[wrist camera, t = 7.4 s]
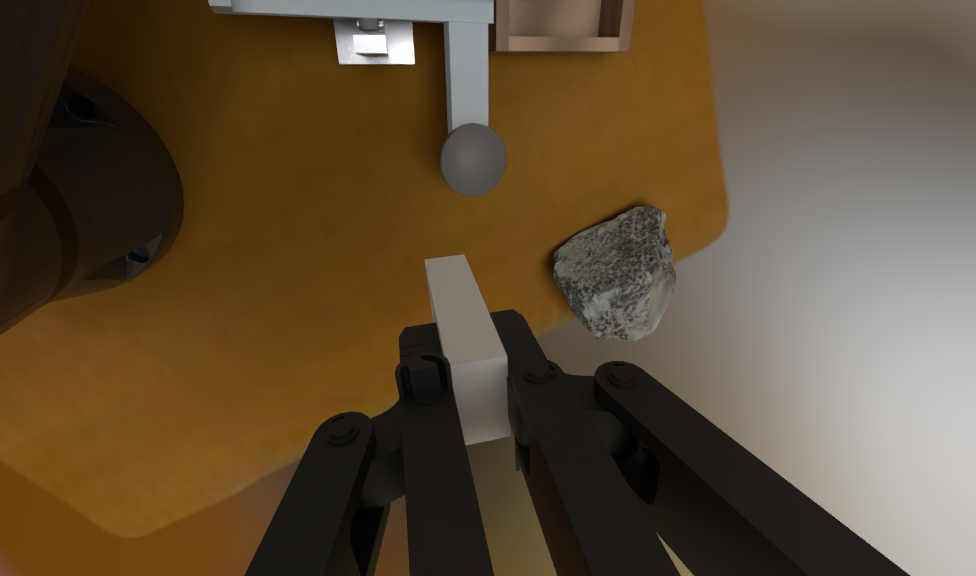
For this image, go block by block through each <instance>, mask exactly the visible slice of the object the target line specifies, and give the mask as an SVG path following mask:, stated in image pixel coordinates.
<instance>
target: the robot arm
mask: <svg viewBox="0 0 976 576" xmlns="http://www.w3.org/2000/svg"><path fill="white" fill-rule="evenodd" d="M91 2H92V0H0V335H1V334H2V333H4V332H5V331H7V330H8V329H10V328H11V327H12V326H14V325H15V324H17V323H18V322H20V321H21V320H23V319H24V318H26V317H27V316H29V315H30V314H31V313H33V312H34V311H36V310H37V309H39V308H40V307H42V306H43V305H45V304H46V303H49V302H54V301H58V300H63V299H67V298H72V297H76V296H81V295H85V294H90V293H95V292H99V291H103V290H107V289H110V288H113V287H116V286H119V285H121V284H123V283H125V282H127V281H129V280H131V279H133V278H135V277H137V276H138V275H140V274H141V273H142V272H144V271H145V270H146V269H148V268H149V267H150V266H151V265H153V264H154V263H155V262H156V261H158V260H159V259H160V258H161V257H162V256H163V255H164V254H165V253H166V252H167V251H168V249H169V248H170V247H171V245H172V244H173V242H174V240H175V238H176V236H177V234H178V231H179V229H180V225H181V221H182V215H183V195H182V188H181V183H180V180H179V176H178V173H177V170H176V168H175V165H174V163H173V161H172V159H171V157H170V155H169V153H168V151H167V149H166V148H165V146H164V145H163V143H162V142H161V140H160V139H159V137H158V136H157V134H156V133H155V132H154V131H153V129H152V128H151V127H150V126H149V125H148V123H147V122H146V121H145V120H144V119H143V118H142V117H141V116H140V115H139V114H138V113H137V112H136V111H135V110H134V109H133V108H132V107H131V106H129V105H128V104H127V103H126V102H125V101H123V100H122V99H121V98H120V97H118V96H117V95H116V94H114V93H113V92H111V91H110V90H109V89H107V88H105V87H104V86H102V85H101V84H99V83H97V82H96V81H94V80H92V79H90V78H89V77H87V76H85V75H83V74H81V73H79V72H76V71H74V70H72V69H69V68H68V67H69V64H70V61H71V58H72V55H73V53H74V50H75V47H76V44H77V41H78V38H79V36H80V33H81V30H82V27H83V24H84V21H85V19H86V16H87V13H88V10H89V7H90V4H91ZM425 267H426V275H427V282H428V289H429V297H430V304H431V311H432V319H433V323H430V324H424V325H418V326H412V327H406V328H404V330H403V332H402V333H401V335H400V337H399V348H400V363H399V365H398V366H397V367H396V371H395V377H396V382H397V387H398V392H399V397H400V398H399V400H398V401H397V402H396V404H395V405H394V406H393V407H391V408H390V409H389V410H387V411H386V412H384V413H382V414H380V415H378V416H376V417H373V418H371V419H370V418H369V417H368V416H366V415H364V414H363V413H359V412H346V413H340V414H338V415H336V416H333V417H331V418H329V419H328V420H326V421H325V422H324V423H322V424H321V425H320V426H319V428H318V429H317V430H316V432H315V433H314V435H313V437H312V439H311V441H310V443H309V445H308V447H307V449H306V451H305V453H304V455H303V457H302V459H301V462H300V464H299V466H298V468H297V470H296V472H295V474H294V476H293V478H292V480H291V482H290V484H289V486H288V488H287V490H286V492H285V494H284V496H283V498H282V500H281V502H280V504H279V506H278V508H277V511H276V512H275V514H274V517H273V518H272V521H271V523H270V525H269V527H268V529H267V531H266V533H265V535H264V537H263V539H262V541H261V543H260V545H259V547H258V549H257V551H256V553H255V555H254V557H253V559H252V561H251V563H250V565H249V567H248V569H247V571H246V574H245V575H244V576H374V573H375V569H376V564H377V561H378V557H379V553H380V548H381V544H382V540H383V536H384V532H385V528H386V524H387V520H388V516H389V512H390V507H391V506H390V505H391V502H392V501H394V500H396V499H398V498H400V497H401V496H403V495H405V497H406V513H407V514H406V515H407V532H408V550H409V568H410V576H494V573H493V569H492V564H491V559H490V555H489V550H488V546H487V541H486V537H485V532H484V528H483V523H482V518H481V515H480V509H479V505H478V500H477V495H476V491H475V486H474V482H473V477H472V473H471V468H470V464H469V459H468V455H467V450H466V445H470V444H475V443H479V442H484V441H489V440H494V439H498V438H503V437H508V436H511V434H510V433H511V432H510V424H511V427H512V430H513V433H514V436H515V461H516V471H519V470H520V466H521V469H522V472H523V475H524V478H525V481H526V484H527V487H528V490H529V493H530V496H531V499H532V502H533V505H534V508H535V511H536V514H537V517H538V520H539V523H540V525H541V528H542V532H543V535H544V537H545V540H546V544H547V546H548V549H549V553H550V555H551V558H552V561H553V564H554V567H555V570H556V573H557V576H681V575H680V574H679V572H678V570H677V569H676V567H675V565H674V563H673V561H672V560H671V558H670V556H669V554H668V553H667V551H666V549H665V548H664V546H663V544H662V542H661V541H660V539H659V537H658V535H659V536H660V537H661V538H662V539H663V541H664V542H665V543H666V544H667V545H668V546H669V547H670V548H671V550H672V551H673V552H674V553H675V554H676V555H677V557H678V558H679V559H680V560H681V561H682V562H683V564H684V565H685V566H686V567H687V568H688V569H689V570H690V572H691V573H692V574H693V575H694V576H910V575H909V574H907V573H906V572H905V571H903V570H902V569H901V568H900V567H898V566H897V565H896V564H894V563H893V562H892V561H890V560H889V559H888V558H886V557H885V556H884V555H883V554H881V553H880V552H879V551H877V550H876V549H875V548H873V547H872V546H871V545H870V544H868V543H867V542H866V541H865V540H863V539H862V538H860V537H859V536H858V535H857V534H855V533H854V532H853V531H851V530H850V529H849V528H848V527H846V526H845V525H844V524H842V523H841V522H840V521H839V520H837V519H836V518H835V517H833V516H832V515H831V514H829V513H828V512H827V511H825V510H824V509H823V508H822V507H820V506H819V505H818V504H817V503H815V502H814V501H813V500H811V499H810V498H809V497H807V496H806V495H805V494H803V493H802V492H801V491H800V490H798V489H797V488H795V487H794V486H793V485H792V484H791V483H789V482H788V481H787V480H785V479H784V478H783V477H781V476H780V475H779V474H778V473H776V472H775V471H774V470H772V469H771V468H770V467H768V466H767V465H766V464H764V463H763V462H762V461H761V460H759V459H758V458H757V457H756V456H754V455H753V454H751V453H750V452H749V451H748V450H746V449H745V448H744V447H742V446H741V445H740V444H739V443H737V442H736V441H735V440H733V439H732V438H731V437H729V436H728V435H727V434H725V433H724V432H723V431H722V430H721V429H719V428H718V427H716V426H715V425H714V424H713V423H711V422H710V421H709V420H708V419H706V418H705V417H704V416H702V415H701V414H700V413H698V412H697V411H696V410H695V409H693V408H692V407H691V406H689V405H688V404H687V403H685V402H684V401H683V400H682V399H680V398H679V397H678V396H676V395H675V394H674V393H673V392H671V391H670V390H669V389H667V388H666V387H665V386H663V385H662V384H661V383H660V382H658V381H657V380H656V379H654V378H653V377H652V376H651V375H649V374H648V373H646V372H645V371H644V370H643V369H641V368H639V367H638V366H636V365H634V364H631V363H627V362H624V361H612V362H607V363H604V364H602V365H601V366H599V367H598V368H597V370H596V372H595V376H576V375H569V374H566V373H564V372H563V371H562V369H561V368H560V367H559V366H558V365H557V364H556V363H553V362H551V361H550V360H547V358H546V357H545V355H544V353H543V351H542V349H541V348H540V346H539V344H538V342H537V340H536V338H535V337H534V335H533V334H532V331H531V329H530V328H529V327H528V324H527V322H526V320H525V318H524V317H523V316H522V315H521V314H519V313H518V312H516V311H515V310H513V309H511V310H505V311H499V312H492V313H489V312H488V310H487V307H486V305H485V302H484V300H483V298H482V295H481V293H480V291H479V288H478V286H477V284H476V281H475V279H474V276H473V274H472V272H471V269H470V267H469V265H468V262H467V260H466V257H465V255H464V254H462V255H455V256H447V257H440V258H433V259H425ZM655 531H656V532H657V534H658V535H657V534H656V532H655Z"/></svg>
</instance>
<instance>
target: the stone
mask: <svg viewBox="0 0 976 576" xmlns="http://www.w3.org/2000/svg"><path fill="white" fill-rule="evenodd" d="M665 219H666V214H664V213H663V212H662V211H661V210H660V209H658V208H655V207H651V206H646V207H635V208H633V209H631V210H629V211H627V212H625V213H624V214H620V215H619V216H618V217H616V218H615V219H613V220H612V221H606V222H603V223H601V224H598V225H596V226H593V227H591V228H589V229H587V230H585V231H582V232H580V233H579V234H577V235H575V236H574V237H572V239H570V240H569V241H567V243H566V244H565V245H563V246H561V247H560V248H559V249H558V250H557V251H556V252H554V255H553V258H554V262H555V265H554V268H553V278H554V280H555V282H556V284H557V286H558V288H559V289H560V290H561V291H562V293H563V294H564V295H565V296H566V297H567V301H568V304H569V306H570V308H571V309H572V311H573V312H574V313H575V315H576V316H577V317H578V319H579V320H580V321H581V323H582V324H583V325H584V326H585V327H586V328H587V329H588V330H589V331H590V332H591V333H592V334H593V335H594V336H595V337H596V338H597V339H599V338H603V339H605V338H610V337H613V338H616V339H618V340H623V341H625V340H632V341H633V340H637V339H639V338H642V337H643V336H647V335H648V334H650V333H652V332H653V331H654V330H655V328H656V326H657V324H658V323H659V321H660V319H661V317H662V315H663V313H664V311H665V309H666V307H667V305H668V303H669V301H670V299H671V296H672V294H673V291H674V286H675V283H676V272H675V269H674V260H673V254H674V253H673V251H672V249H671V248H670V245H669V241H668V240H667V238H666V234H665V230H664V221H665Z"/></svg>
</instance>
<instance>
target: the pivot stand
mask: <svg viewBox="0 0 976 576" xmlns="http://www.w3.org/2000/svg"><path fill="white" fill-rule="evenodd" d="M333 22H334V29H335V36H336V44H337V51H338V58H339V64H415V59H414V44H413V29H412V22H408V21H384V20H378V22H379V30H378V31H364V30H360V28H359V20H358V19H338V18H333Z"/></svg>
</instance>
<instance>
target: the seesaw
mask: <svg viewBox="0 0 976 576" xmlns="http://www.w3.org/2000/svg"><path fill="white" fill-rule="evenodd" d="M208 2H209V6H210V7H211V9H212V10H213V12H214V13H221V14H244V15H267V16H291V17H314V18H338V19H358V20H359V28H360V30H364V31H378V30H379V22H378V20H384V21H408V22H431V23H444V45H445V70H446V94H447V119H448V136H447V137H446V138H445V140H444V142H443V144H442V146H441V149H440V153H439V169H440V173H441V175H442V177H443V179H444V181H445V182H446V184H447V185H448V186H449V187H450V188H452V189H453V190H455V191H456V192H458V193H460V194H462V195H465V196H480V195H483V194H485V193H487V192H489V191H490V190H491V189H493V188H494V187H495V186H496V185H497V183H498V182H499V181H500V179H501V177H502V175H503V173H504V170H505V166H506V150H505V146H504V144H503V141H502V139H501V138H500V136H499V135H498V134H497V133H496V132H495V131H494V130H493V129H491V128H490V127H488V24H493V23H494V0H208Z"/></svg>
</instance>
